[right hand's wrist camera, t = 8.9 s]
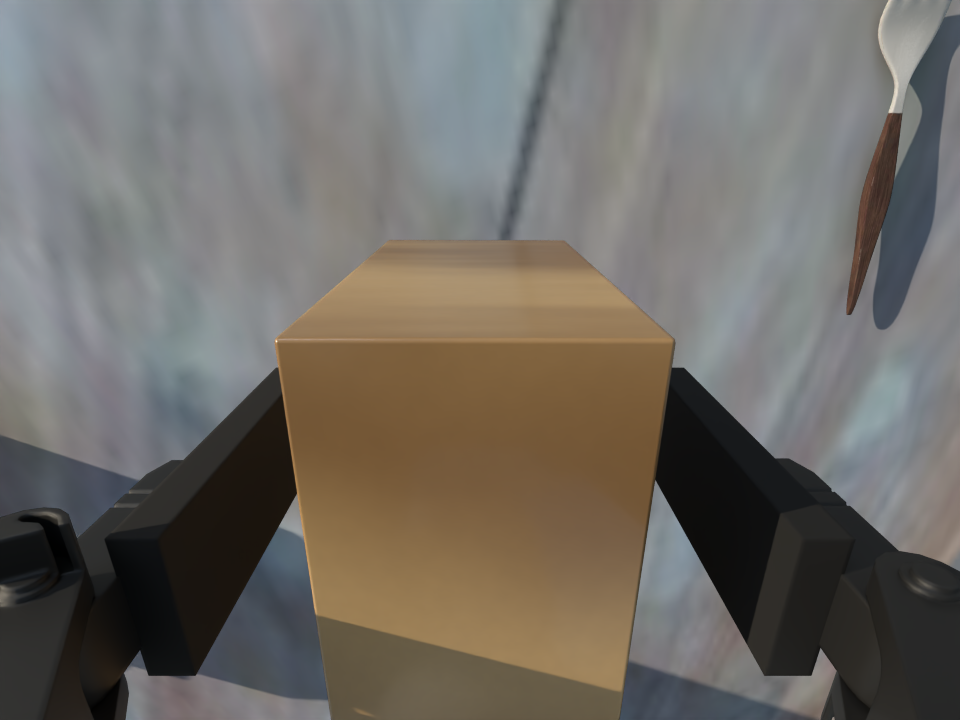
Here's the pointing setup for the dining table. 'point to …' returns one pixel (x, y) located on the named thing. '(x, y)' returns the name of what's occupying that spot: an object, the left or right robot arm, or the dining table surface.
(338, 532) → the bar
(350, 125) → the dining table surface
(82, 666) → the right robot arm
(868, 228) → the fork
